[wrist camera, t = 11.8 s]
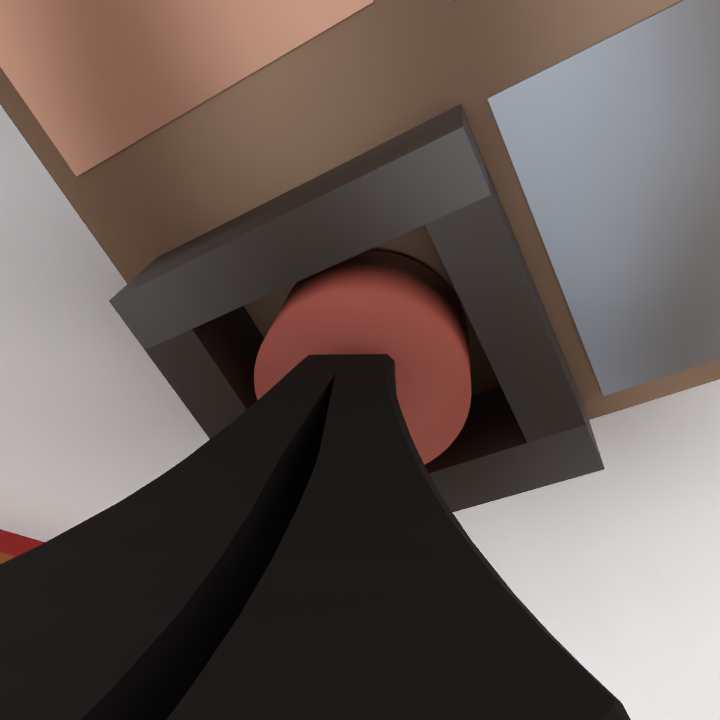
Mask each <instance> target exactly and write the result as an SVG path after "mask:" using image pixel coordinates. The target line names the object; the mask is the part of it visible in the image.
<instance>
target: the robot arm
mask: <svg viewBox="0 0 720 720" xmlns="http://www.w3.org/2000/svg"><path fill="white" fill-rule="evenodd" d="M0 720H630V718H629V716H628V714H627V712H626V710H625V708H624V706H623V704H622V703H621V702H620V701H619V700H618V699H617V698H616V697H615V696H614V695H613V694H612V693H611V692H609V691H608V690H607V689H606V688H605V687H604V686H603V685H602V684H601V683H600V682H599V681H598V680H597V679H596V678H595V677H594V676H593V675H592V674H591V673H590V672H588V671H587V670H586V669H585V668H584V667H583V666H582V665H581V664H580V663H579V662H578V661H577V660H576V659H575V658H574V657H573V656H572V655H571V654H570V653H569V652H568V651H567V650H566V649H565V648H564V647H563V646H562V645H561V644H560V643H559V642H558V641H557V640H556V639H555V638H554V637H553V636H552V635H551V634H550V633H549V632H548V630H547V629H546V628H545V627H544V626H543V625H542V624H541V623H540V622H539V621H538V619H537V618H536V617H535V616H534V615H533V614H532V613H531V612H530V611H529V610H528V609H527V607H526V606H525V605H524V604H523V603H522V602H521V601H520V600H519V599H518V598H517V596H516V595H515V594H514V593H513V592H512V591H511V589H510V588H509V587H508V586H507V584H506V583H505V582H504V581H503V579H502V578H501V577H500V576H499V574H498V573H497V572H496V571H495V569H494V568H493V567H492V566H491V564H490V563H489V562H488V561H487V559H486V558H485V557H484V556H483V554H482V553H481V552H480V551H479V549H478V548H477V547H476V546H475V544H474V543H473V542H472V540H471V539H470V538H469V536H468V535H467V533H466V532H465V530H464V529H463V528H462V526H461V525H460V523H459V522H458V520H457V519H456V517H455V516H454V514H453V513H452V511H451V510H450V508H449V507H448V505H447V503H446V502H445V500H444V498H443V497H442V495H441V494H440V492H439V490H438V489H437V487H436V485H435V483H434V482H433V480H432V478H431V476H430V474H429V472H428V471H427V469H426V467H425V465H424V463H423V461H422V459H421V457H420V455H419V452H418V450H417V448H416V446H415V444H414V442H413V439H412V437H411V435H410V432H409V430H408V427H407V424H406V422H405V419H404V416H403V414H402V411H401V408H400V405H399V402H398V398H397V393H396V376H395V361H394V360H393V359H392V358H391V357H390V356H389V355H388V354H327V355H308V356H307V357H306V358H304V359H303V360H302V361H301V362H300V363H298V364H297V365H296V366H295V367H294V368H293V369H292V370H291V371H290V372H289V373H287V374H286V375H285V376H284V377H283V378H282V379H281V380H280V381H279V382H278V383H277V384H275V385H274V386H273V387H272V388H271V389H270V390H269V391H268V392H267V393H265V394H264V395H263V396H262V397H261V398H260V399H259V400H257V401H256V402H255V403H254V404H253V405H252V406H251V407H249V408H248V409H247V410H246V411H245V412H244V413H243V414H242V415H240V416H239V417H238V418H237V419H236V420H234V421H233V422H232V423H231V424H229V425H228V426H227V427H225V428H224V429H223V430H222V431H220V432H219V433H218V434H217V435H215V436H214V437H213V438H211V439H210V440H209V441H208V442H206V443H205V444H204V445H203V446H201V447H200V448H199V449H197V450H196V451H195V452H194V453H192V454H191V455H190V456H188V457H187V458H186V459H184V460H183V461H181V462H180V463H179V464H177V465H176V466H174V467H173V468H171V469H170V470H169V471H167V472H166V473H164V474H163V475H161V476H160V477H158V478H157V479H155V480H153V481H152V482H150V483H149V484H147V485H146V486H144V487H142V488H141V489H139V490H138V491H136V492H135V493H133V494H132V495H130V496H128V497H127V498H125V499H123V500H122V501H120V502H118V503H117V504H115V505H113V506H111V507H110V508H108V509H106V510H104V511H102V512H100V513H99V514H97V515H95V516H93V517H91V518H89V519H88V520H86V521H84V522H82V523H80V524H78V525H77V526H75V527H73V528H71V529H69V530H68V531H66V532H64V533H62V534H60V535H58V536H57V537H55V538H53V539H51V540H49V541H47V542H45V543H43V544H41V545H39V546H37V547H35V548H33V549H31V550H29V551H27V552H25V553H23V554H21V555H19V556H16V557H14V558H12V559H10V560H8V561H6V562H4V563H2V564H0Z"/></svg>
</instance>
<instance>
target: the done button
mask: <svg viewBox="0 0 720 720" xmlns="http://www.w3.org/2000/svg"><path fill="white" fill-rule="evenodd" d="M327 354H388V355H389V356H390V357H391V358H392V359H393V360H394V361H395V376H396V393H397V398H398V402H399V405H400V408H401V411H402V414H403V416H404V419H405V422H406V424H407V427H408V430H409V432H410V435H411V437H412V439H413V442H414V444H415V446H416V448H417V450H418V452H419V455H420V457H421V459H422V461H423V463H424V465H425V464H427V463H429V462H430V461H432V460H433V459H435V458H436V457H438V456H439V455H440V454H441V453H443V452H444V451H445V450H446V449H447V448H448V447H449V446H450V445H451V444H452V442H453V441H454V440H455V439H456V438H457V436H458V434H459V433H460V431H461V430H462V428H463V426H464V423H465V421H466V419H467V416H468V412H469V408H470V404H471V372H470V352H469V335H468V326H467V321H466V317H465V314H464V312H463V309H462V307H461V305H460V303H459V301H458V299H457V298H456V296H455V294H454V293H453V292H452V290H451V289H450V288H449V286H448V285H447V284H446V283H445V282H444V281H443V280H442V279H441V278H440V277H439V276H438V275H436V274H435V273H434V272H432V271H431V270H430V269H428V268H427V267H425V266H423V265H422V264H420V263H418V262H416V261H414V260H412V259H409V258H407V257H405V256H401V255H397V254H394V253H389V252H383V251H368V250H367V251H365V252H362V253H360V254H358V255H356V256H354V257H351V258H349V259H347V260H345V261H342V262H340V263H338V264H336V265H333V266H331V267H329V268H327V269H325V270H322V271H320V272H318V273H316V274H313V275H311V276H309V277H307V278H304V279H302V280H300V281H298V282H296V284H295V285H294V286H293V288H292V289H291V291H290V292H289V294H288V296H287V298H286V300H285V302H284V303H283V305H282V307H281V309H280V311H279V313H278V315H277V316H276V318H275V320H274V322H273V324H272V326H271V328H270V329H269V331H268V333H267V335H266V337H265V339H264V341H263V342H262V344H261V346H260V349H259V352H258V355H257V358H256V363H255V368H254V385H255V393H256V397H257V400H259V399H260V398H261V397H262V396H263V395H264V394H265V393H267V392H268V391H269V390H270V389H271V388H272V387H273V386H274V385H275V384H277V383H278V382H279V381H280V380H281V379H282V378H283V377H284V376H285V375H286V374H287V373H289V372H290V371H291V370H292V369H293V368H294V367H295V366H296V365H297V364H298V363H300V362H301V361H302V360H303V359H304V358H306V357H307V356H308V355H327Z"/></svg>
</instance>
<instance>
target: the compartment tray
mask: <svg viewBox="0 0 720 720" xmlns="http://www.w3.org/2000/svg"><path fill="white" fill-rule="evenodd" d="M0 104H1V106H2V107H3V109H4V110H5V112H6V113H7V114H8V116H9V117H10V119H11V120H12V121H13V123H14V124H15V126H16V127H17V128H18V130H19V131H20V133H21V134H22V136H23V137H24V138H25V140H26V141H27V143H28V144H29V145H30V147H31V148H32V150H33V151H34V152H35V154H36V155H37V157H38V158H39V160H40V161H41V162H42V164H43V165H44V167H45V168H46V169H47V171H48V172H49V174H50V175H51V176H52V178H53V179H54V181H55V182H56V184H57V185H58V186H59V188H60V189H61V191H62V192H63V193H64V195H65V196H66V198H67V199H68V200H69V202H70V203H71V205H72V206H73V208H74V209H75V210H76V212H77V213H78V215H79V216H80V217H81V219H82V220H83V222H84V223H85V224H86V226H87V227H88V229H89V230H90V232H91V233H92V234H93V236H94V237H95V239H96V240H97V241H98V243H99V244H100V246H101V247H102V248H103V250H104V251H105V253H106V254H107V256H108V257H109V258H110V260H111V261H112V263H113V264H114V265H115V267H116V268H117V270H118V271H119V272H120V274H121V275H122V277H123V278H124V280H125V281H126V282H127V285H126V286H125V287H124V288H123V289H122V290H121V291H119V292H118V293H117V294H116V295H115V296H114V297H113V298H112V299H111V300H110V301H109V302H110V303H111V304H112V306H113V307H114V308H115V310H116V311H117V312H118V314H119V315H120V317H121V318H122V319H123V321H124V322H125V323H126V325H127V326H128V328H129V329H130V330H131V332H132V333H133V334H134V336H135V337H136V338H137V340H138V341H139V343H140V344H141V345H142V347H143V348H144V349H145V351H146V352H147V354H148V355H149V356H150V358H151V359H152V360H153V362H154V363H155V364H156V366H157V367H158V369H159V370H160V371H161V373H162V374H163V375H164V377H165V378H166V379H167V381H168V382H169V384H170V385H171V386H172V388H173V389H174V390H175V392H176V393H177V395H178V396H179V397H180V399H181V400H182V401H183V403H184V404H185V405H186V407H187V408H188V410H189V411H190V412H191V414H192V415H193V416H194V418H195V419H196V421H197V422H198V423H199V425H200V426H201V427H202V429H203V430H204V431H205V433H206V434H207V436H208V437H209V438H210V439H211V438H213V437H214V436H215V435H217V434H218V433H219V432H220V431H222V430H223V429H224V428H225V427H227V426H228V425H229V424H231V423H232V422H233V421H234V420H236V419H237V418H238V417H239V416H240V415H242V414H243V413H244V412H245V411H246V410H247V409H248V408H249V407H251V406H252V405H253V404H254V403H255V402H256V401H257V397H256V393H255V385H254V368H255V363H256V358H257V355H258V352H259V349H260V346H261V344H262V342H263V341H264V339H265V337H266V335H267V333H268V331H269V329H270V328H271V326H272V324H273V322H274V320H275V318H276V316H277V315H278V313H279V311H280V309H281V307H282V305H283V303H284V302H285V300H286V298H287V296H288V294H289V292H290V291H291V289H292V288H293V286H294V285H295V284H296V282H298V281H300V280H302V279H304V278H307V277H309V276H311V275H313V274H316V273H318V272H320V271H322V270H325V269H327V268H329V267H331V266H333V265H336V264H338V263H340V262H342V261H345V260H347V259H349V258H351V257H354V256H356V255H358V254H360V253H362V252H365V251H367V250H368V251H383V252H389V253H394V254H397V255H401V256H405V257H407V258H409V259H412V260H414V261H416V262H418V263H420V264H422V265H423V266H425V267H427V268H428V269H430V270H431V271H432V272H434V273H435V274H436V275H438V276H439V277H440V278H441V279H442V280H443V281H444V282H445V283H446V284H447V285H448V286H449V288H450V289H451V290H452V292H453V293H454V294H455V296H456V298H457V299H458V301H459V303H460V305H461V307H462V309H463V312H464V314H465V317H466V321H467V326H468V335H469V352H470V372H471V404H470V408H469V412H468V416H467V419H466V421H465V423H464V426H463V428H462V430H461V431H460V433H459V434H458V436H457V438H456V439H455V440H454V441H453V442H452V444H451V445H450V446H449V447H448V448H447V449H446V450H445V451H444V452H443V453H441V454H440V455H439V456H438V457H436V458H435V459H433V460H432V461H430V462H429V463H427V464H425V467H426V469H427V471H428V472H429V474H430V476H431V478H432V480H433V482H434V483H435V485H436V487H437V489H438V490H439V492H440V494H441V495H442V497H443V498H444V500H445V502H446V503H447V505H448V507H449V508H450V510H451V511H452V512H455V511H459V510H462V509H466V508H469V507H473V506H476V505H480V504H483V503H487V502H490V501H494V500H497V499H501V498H504V497H508V496H512V495H515V494H519V493H522V492H526V491H529V490H533V489H536V488H540V487H543V486H547V485H550V484H554V483H557V482H561V481H564V480H568V479H571V478H575V477H578V476H582V475H585V474H589V473H592V472H596V471H600V470H603V469H604V466H603V463H602V459H601V456H600V453H599V450H598V447H597V444H596V441H595V438H594V434H593V431H592V428H591V425H590V422H589V420H590V419H593V418H596V417H599V416H602V415H606V414H609V413H612V412H615V411H618V410H622V409H625V408H628V407H631V406H634V405H638V404H641V403H644V402H647V401H651V400H654V399H657V398H660V397H663V396H667V395H670V394H673V393H676V392H679V391H683V390H686V389H689V388H692V387H695V386H699V385H702V384H705V383H708V382H712V381H715V380H718V379H720V0H0Z"/></svg>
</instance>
